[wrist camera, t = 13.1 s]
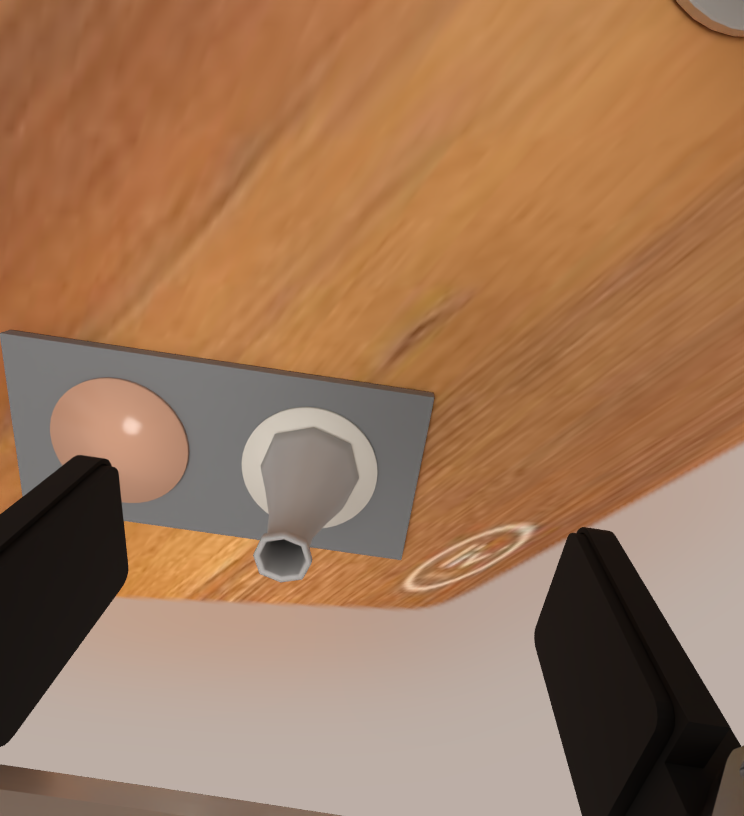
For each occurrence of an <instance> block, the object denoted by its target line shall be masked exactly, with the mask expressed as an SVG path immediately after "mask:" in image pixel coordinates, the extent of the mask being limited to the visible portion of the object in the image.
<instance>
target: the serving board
mask: <svg viewBox="0 0 744 816" xmlns="http://www.w3.org/2000/svg"><path fill="white" fill-rule="evenodd" d="M0 339H1V346H2V353H3V360H4V367H5V374H6V381H7V388H8V396H9V403H10V410H11V417H12V424H13V431H14V438H15V445H16V452H17V459H18V466H19V473H20V480H21V488H22V495H23V496H24V495H26V494H27V493H28V492H30V491H31V490H32V489H33V488H35V487H36V486H37V485H38V484H40V483H41V482H42V481H43V480H45V479H46V478H47V477H49V476H50V475H51V474H52V473H54V472H55V471H56V470H57V469H59V468H60V467H61V466H62V464H61V462H60V461H59V459H58V457H57V455H56V453H55V451H54V448H53V445H52V441H51V436H50V421H51V416H52V412H53V410H54V408H55V405H56V404H57V402H58V401H59V399H60V398H61V397H62V396H63V395H64V394H65V393H66V392H67V391H68V390H70V389H71V388H72V387H74V386H76V385H78V384H80V383H82V382H84V381H87V380H90V379H95V378H102V377H112V378H121V379H126V380H129V381H132V382H135V383H138V384H140V385H142V386H145V387H147V388H148V389H150V390H152V391H153V392H155V393H156V394H157V395H159V396H160V397H161V398H163V399H164V400H165V401H166V402H167V403H168V404H169V405H170V406H171V408H172V409H173V410H174V411H175V412H176V414H177V415H178V417H179V418H180V420H181V422H182V424H183V426H184V428H185V431H186V434H187V438H188V442H189V460H188V464H187V468H186V470H185V473H184V474H183V476H182V478H181V479H180V481H179V482H178V483H177V484H176V485H175V487H174V488H173V489H171V490H170V491H169V492H168V493H166V494H165V495H163V496H161V497H159V498H157V499H154V500H151V501H147V502H141V503H124V502H122V510H123V520H124V521H129V522H136V523H143V524H150V525H158V526H165V527H172V528H179V529H186V530H193V531H200V532H207V533H214V534H221V535H228V536H235V537H242V538H249V539H256V540H261V538H262V536H263V534H265V533H267V529H268V519H269V514H268V513H266V512H265V511H264V510H263V509H262V508H261V507H260V506H259V505H258V504H257V503H256V502H255V501H254V499H253V498H252V496H251V495H250V493H249V491H248V489H247V487H246V485H245V482H244V479H243V474H242V455H243V451H244V448H245V445H246V443H247V441H248V439H249V437H250V436H251V434H252V433H253V431H254V430H255V429H256V427H257V426H258V425H259V424H260V423H261V422H263V421H264V420H265V419H266V418H268V417H270V416H271V415H273V414H275V413H277V412H279V411H282V410H285V409H289V408H294V407H307V406H308V407H318V408H323V409H327V410H330V411H333V412H336V413H338V414H340V415H342V416H344V417H345V418H347V419H348V420H350V421H351V422H353V423H354V424H355V425H356V426H357V427H358V428H359V429H360V430H361V431H362V432H363V433H364V434H365V436H366V437H367V438H368V440H369V442H370V443H371V445H372V447H373V450H374V453H375V456H376V460H377V482H376V486H375V490H374V492H373V495H372V497H371V498H370V500H369V502H368V503H367V505H366V506H365V507H364V508H363V509H362V510H361V511H360V512H359V513H358V514H357V515H355V516H354V517H353V518H351V519H350V520H348V521H346V522H344V523H341V524H339V525H336V526H332V527H328V528H322V529H321V530H320V531H319V532H318V533H317V534H316V535H315V536H314V537H313V539H312V542H311V545H310V547H313V548H320V549H327V550H334V551H341V552H348V553H355V554H362V555H369V556H376V557H383V558H390V559H397V560H401V558H402V554H403V549H404V544H405V539H406V534H407V529H408V524H409V519H410V514H411V510H412V505H413V500H414V495H415V490H416V485H417V480H418V475H419V470H420V466H421V461H422V456H423V451H424V446H425V441H426V436H427V431H428V427H429V422H430V417H431V412H432V407H433V402H434V394H433V393H432V392H425V391H419V390H412V389H405V388H398V387H392V386H385V385H378V384H371V383H365V382H358V381H351V380H344V379H338V378H331V377H324V376H318V375H311V374H304V373H297V372H291V371H284V370H277V369H270V368H264V367H257V366H250V365H244V364H237V363H230V362H223V361H217V360H210V359H203V358H196V357H190V356H183V355H176V354H169V353H163V352H156V351H149V350H143V349H136V348H129V347H122V346H116V345H109V344H102V343H95V342H89V341H82V340H75V339H68V338H62V337H55V336H48V335H42V334H35V333H28V332H21V331H15V330H8V331H5V332H2V333H0Z"/></svg>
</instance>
